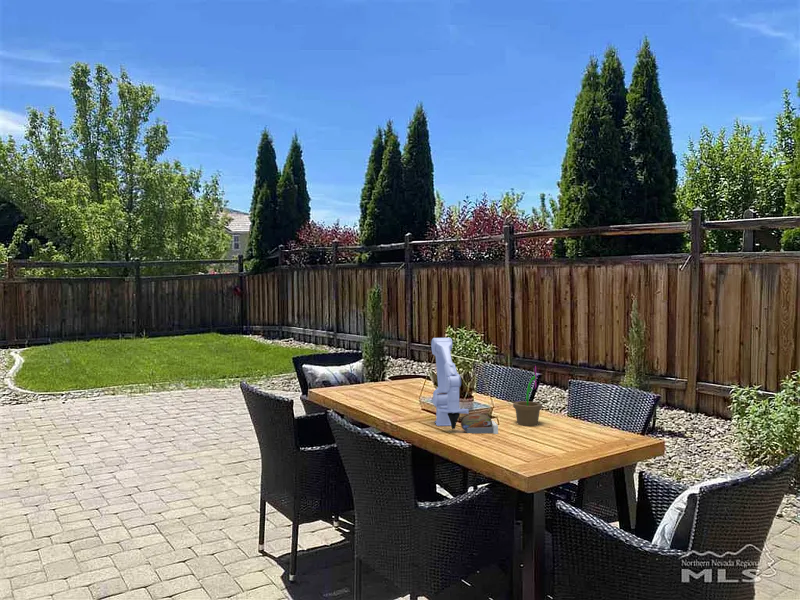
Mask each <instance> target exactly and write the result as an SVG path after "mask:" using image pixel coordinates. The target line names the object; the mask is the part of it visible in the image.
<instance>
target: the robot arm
mask: <svg viewBox="0 0 800 600" xmlns="http://www.w3.org/2000/svg"><path fill="white" fill-rule="evenodd" d="M430 345H431V352H432V353H431V354H432V355H433V356H435V365H436V366H435V367H436V377H437V388H436V389H435V390H434V391H433V393H432V394H433V395H432V404H433V406H434V407H435V409H436V413H435V417H436V418H435V419H436V420H434V423H436V424H435V426H436V425H437V427H442V426H443V427H449V426H450V427H451V430H455V429H456V425H457V422H458V420H459V418H460V414H467V415H470V413H469V411H470V410H469V408H460V388H461V386H462V378H461V375H460V374H459V373H458V372H457V367H456V363H454V362H453V360H452V353H451V352H452V349H453V339H452V338H451V337H433V338H432V339H431V343H430Z"/></svg>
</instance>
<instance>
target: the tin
mask: <svg viewBox="0 0 800 600" xmlns="http://www.w3.org/2000/svg"><path fill="white" fill-rule="evenodd" d="M492 421H493V420H492V418H491V417H490V416H489V415H487V414H484V413H483V414H467V415H465V416H464V417H462V419H461V421H460V427H461V429H462V430H463V431H464V432H466V433H467V428H487V427H491V426H492Z"/></svg>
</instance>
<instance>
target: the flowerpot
mask: <svg viewBox="0 0 800 600" xmlns="http://www.w3.org/2000/svg"><path fill="white" fill-rule="evenodd" d="M533 381H534V389H535V390H536V388H537V366H536V365H535V366H534V375H533V376H532V377H531V378H530V381H529V383H528V385H527V389H526V396H525V400H526V401H524V400H523V401H514V403H513V406H512V407H513V409H515V415H516V423H518V424H517V425H518V426H522V425H523V426H524V427H534V425H536V426H538V425H539V418H540V411H541V410H542V409H543V403H541V402H538V401H537V402H536V401H531V400H530V399H529V396H530V395H529V394H530V392H532V391H533V389H532V388H531V384H532V382H533ZM529 400H530V401H529ZM537 424H538V425H537Z"/></svg>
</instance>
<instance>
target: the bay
mask: <svg viewBox="0 0 800 600" xmlns="http://www.w3.org/2000/svg"><path fill="white" fill-rule="evenodd" d="M467 433H472V434H493V435H498V434H499V424H498V423H496V422H495V420H492V426H491V427H487V428H467V432H466V434H467Z"/></svg>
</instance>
